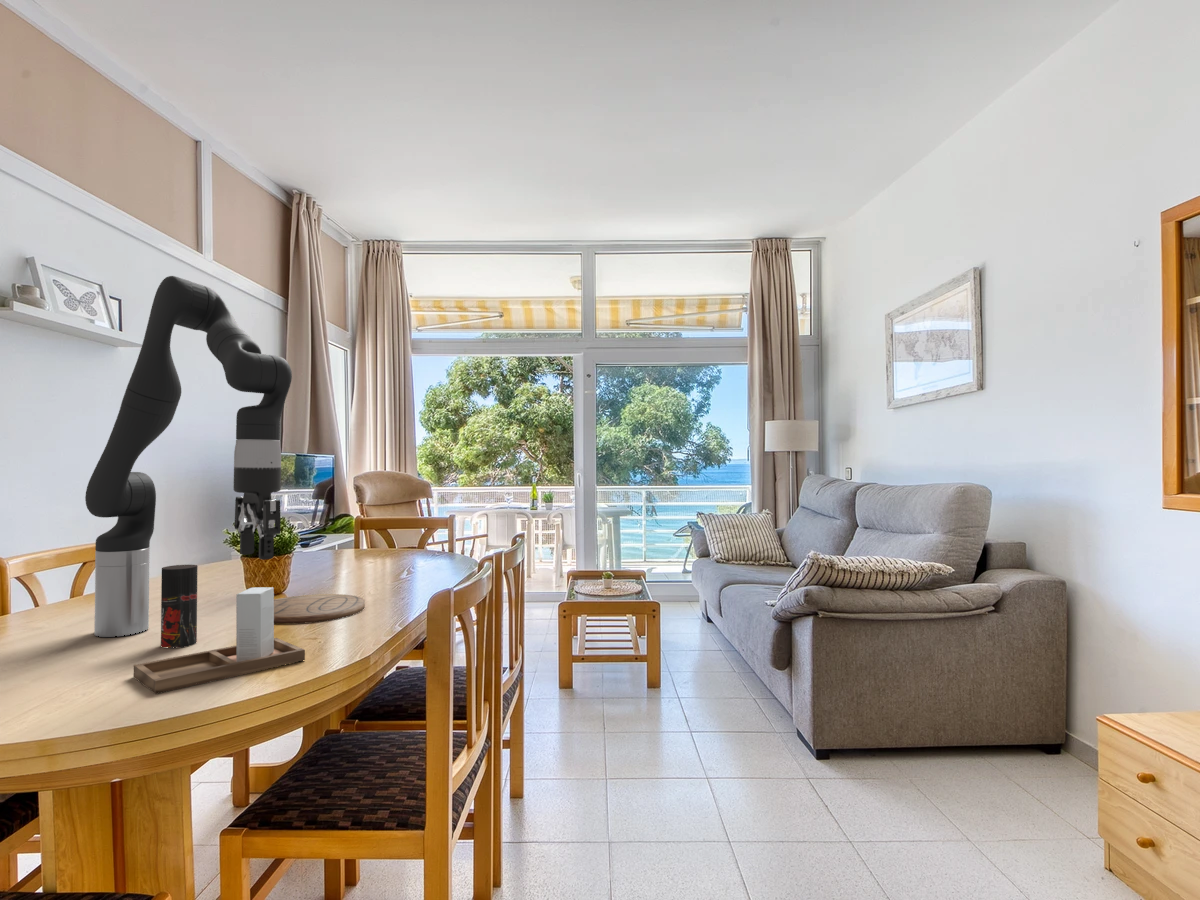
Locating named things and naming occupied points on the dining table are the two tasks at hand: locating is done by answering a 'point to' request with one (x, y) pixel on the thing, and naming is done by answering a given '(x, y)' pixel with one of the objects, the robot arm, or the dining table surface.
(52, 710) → the dining table surface
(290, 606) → the trivet
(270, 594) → the skincare box
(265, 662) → the two-section desk tray
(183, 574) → the deodorant
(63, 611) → the dining table surface
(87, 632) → the dining table surface
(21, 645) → the dining table surface
